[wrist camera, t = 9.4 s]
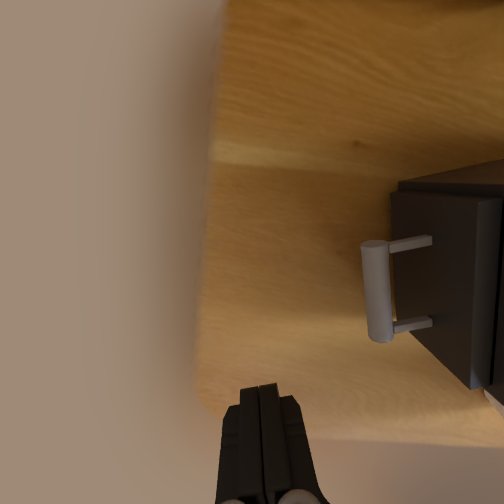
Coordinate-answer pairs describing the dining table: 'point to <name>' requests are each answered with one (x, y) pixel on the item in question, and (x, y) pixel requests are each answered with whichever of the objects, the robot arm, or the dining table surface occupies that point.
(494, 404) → the foam cup
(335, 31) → the dining table surface
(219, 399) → the dining table surface
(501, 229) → the drawer
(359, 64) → the dining table surface
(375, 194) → the dining table surface
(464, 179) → the dark grey cabinet
